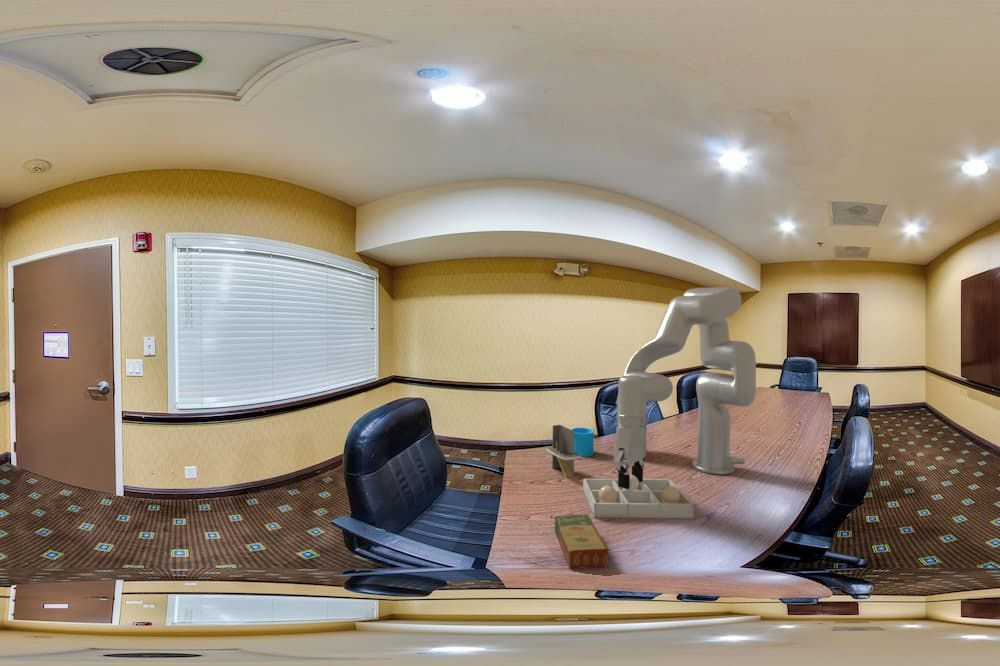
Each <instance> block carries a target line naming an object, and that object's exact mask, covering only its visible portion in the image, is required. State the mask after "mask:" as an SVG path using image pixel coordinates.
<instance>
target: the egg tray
mask: <svg viewBox="0 0 1000 666" xmlns="http://www.w3.org/2000/svg"><path fill="white" fill-rule="evenodd" d="M607 485H608V486H611V487H613V488H614V489H615V491H616V493H617V498H616V503H600V498H599V490H600V489H601V488H602V487H603V486H607ZM667 486H672V487H674V488H676V489H677V490H678V492H679V494H680V499H679V504H671V503H662V497H661V492H662V490H663V488H665V487H667ZM582 492H583V494H584V496H585V498H586V501H587V503H588V506H589V508H590V511H591V513H592V516H593V518H599V519H600V518H602V519H603V518H606V519H607V518H610V519H611V518H612V519H613V518H614V519H615V518H616V519H617V518H618V519H619V518H621V519H623V518H624V519H630V518H631V519H635V518H636V519H644V518H645V519H694V518H695V517H694V516H695V515H694V514H695V513H694V512H695V504H694V503H693V502H692V501H691V499H689V497H687V496H686V494H684V492H682V490H681V489H680V488H679V487H678V486H677V485H676V484H675V483H674V482H673V481H672V479H670V478H669V479H667V478H665V479H664V478H662V479H659V478H656V479H655V478H643V482H639V487H638V490H623V488H621V487H619V486H618V478H582Z"/></svg>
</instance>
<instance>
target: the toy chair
mask: <svg viewBox="0 0 1000 666" xmlns="http://www.w3.org/2000/svg"><path fill="white" fill-rule="evenodd" d="M546 451H547V452H549V453H550V454H552V463H551V464H552V465H551V466H552V469H553V470H554V469H560V470H561V471H562V473H563V476H564V478H566V479H568V478H574V477H575V460H577V459H578V460H579V458H580V457H581V456H580V454H578V453H576V452H574V431H572V430H571V429H570V428H568V427H566V426H564V425H562V424H555V425H552V446H547V447H546Z"/></svg>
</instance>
